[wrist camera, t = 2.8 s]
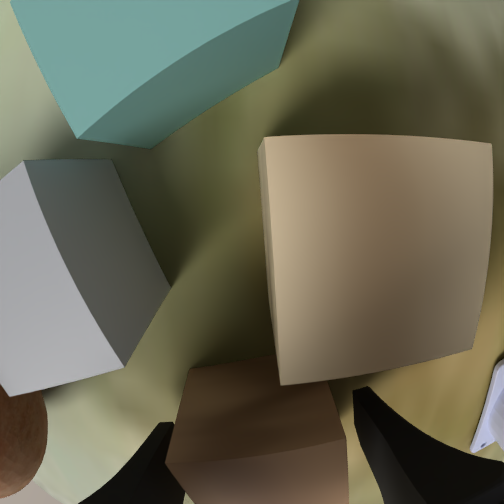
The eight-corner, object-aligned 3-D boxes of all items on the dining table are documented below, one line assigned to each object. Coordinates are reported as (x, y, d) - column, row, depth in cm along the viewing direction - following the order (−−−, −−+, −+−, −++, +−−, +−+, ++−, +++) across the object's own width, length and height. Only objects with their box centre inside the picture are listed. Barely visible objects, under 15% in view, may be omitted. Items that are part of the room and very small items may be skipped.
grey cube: (112, 159, 10) (23, 160, 5) (171, 287, 11) (124, 367, 6) (20, 219, 10) (-67, 251, 6) (73, 327, 12) (9, 396, 7)
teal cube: (201, -25, 8) (178, -110, 3) (278, 68, 9) (300, -4, 4) (88, 49, 9) (9, 2, 4) (151, 149, 10) (77, 138, 5)
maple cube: (399, 147, 10) (491, 143, 5) (398, 283, 11) (471, 348, 6) (257, 151, 10) (264, 136, 5) (268, 296, 11) (280, 385, 6)
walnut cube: (314, 344, 12) (346, 438, 7) (326, 427, 13) (348, 512, 8) (189, 367, 12) (165, 463, 7) (223, 445, 13) (217, 530, 9)
